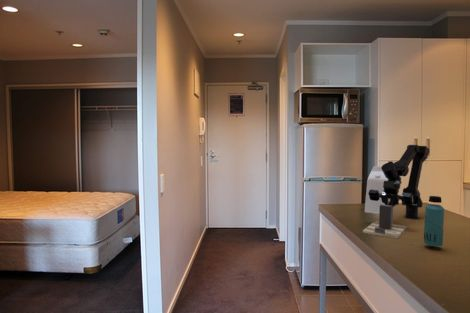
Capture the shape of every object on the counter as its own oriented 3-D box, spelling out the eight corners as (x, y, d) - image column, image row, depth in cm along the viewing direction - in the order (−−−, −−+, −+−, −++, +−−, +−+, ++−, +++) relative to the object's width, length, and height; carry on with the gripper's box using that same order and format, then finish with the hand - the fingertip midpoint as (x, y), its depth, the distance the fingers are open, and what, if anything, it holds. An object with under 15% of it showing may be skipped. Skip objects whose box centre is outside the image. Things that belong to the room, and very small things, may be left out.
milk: (390, 211, 187) (392, 166, 186) (387, 214, 178) (389, 167, 176) (368, 208, 194) (369, 165, 192) (364, 212, 184) (366, 166, 183)
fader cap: (380, 225, 150) (381, 204, 150) (392, 227, 147) (392, 205, 147) (378, 227, 147) (379, 205, 147) (390, 229, 144) (391, 206, 144)
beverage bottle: (440, 246, 126) (442, 195, 125) (445, 251, 120) (447, 198, 118) (421, 244, 128) (423, 194, 127) (425, 249, 122) (427, 197, 121)
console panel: (374, 223, 159) (374, 217, 159) (406, 228, 151) (406, 222, 150) (362, 232, 143) (362, 225, 143) (397, 238, 135) (397, 231, 135)
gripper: (370, 172, 158) (362, 198, 149) (413, 175, 146) (407, 203, 138) (373, 187, 164) (366, 212, 156) (415, 191, 153) (410, 218, 145)
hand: (386, 211), depth 149 cm, fingers closed, pressing on fader cap
